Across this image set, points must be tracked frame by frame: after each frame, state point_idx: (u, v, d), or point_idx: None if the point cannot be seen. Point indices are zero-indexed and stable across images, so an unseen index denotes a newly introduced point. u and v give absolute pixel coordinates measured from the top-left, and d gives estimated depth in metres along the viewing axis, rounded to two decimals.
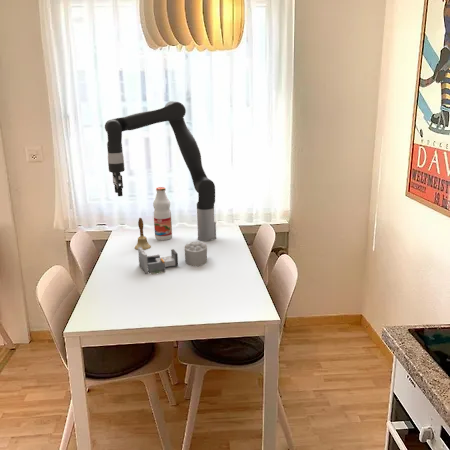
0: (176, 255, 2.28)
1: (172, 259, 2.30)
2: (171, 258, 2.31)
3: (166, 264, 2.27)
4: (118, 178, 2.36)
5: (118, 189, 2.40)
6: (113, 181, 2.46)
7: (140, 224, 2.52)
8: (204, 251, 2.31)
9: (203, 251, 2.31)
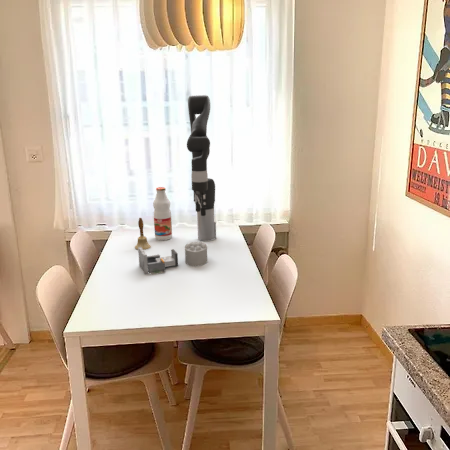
0: (176, 255, 2.28)
1: (172, 259, 2.30)
2: (171, 258, 2.31)
3: (166, 264, 2.27)
4: (203, 197, 2.27)
5: (202, 208, 2.30)
6: (195, 200, 2.36)
7: (140, 224, 2.52)
8: (204, 251, 2.31)
9: (203, 251, 2.31)
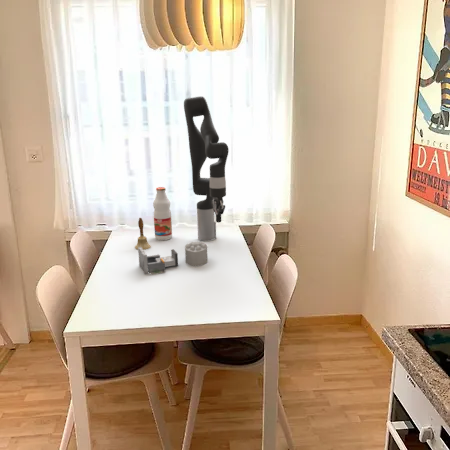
0: (176, 255, 2.28)
1: (172, 259, 2.30)
2: (171, 258, 2.31)
3: (166, 264, 2.27)
4: (221, 208, 2.27)
5: (217, 215, 2.33)
6: (214, 207, 2.33)
7: (140, 224, 2.52)
8: (204, 251, 2.31)
9: (203, 251, 2.31)
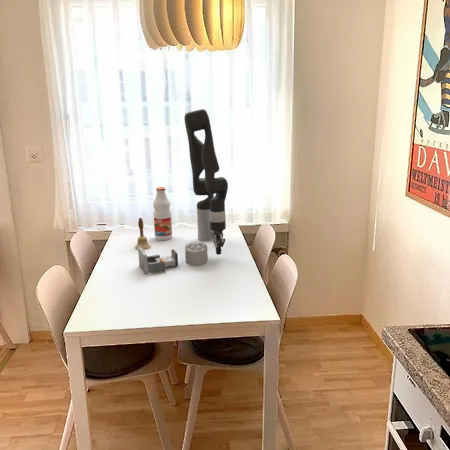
0: (176, 255, 2.28)
1: (172, 259, 2.30)
2: (171, 258, 2.31)
3: (166, 264, 2.27)
4: (221, 242, 2.32)
5: (217, 248, 2.37)
6: (214, 240, 2.37)
7: (140, 224, 2.52)
8: (205, 251, 2.32)
9: (204, 251, 2.31)
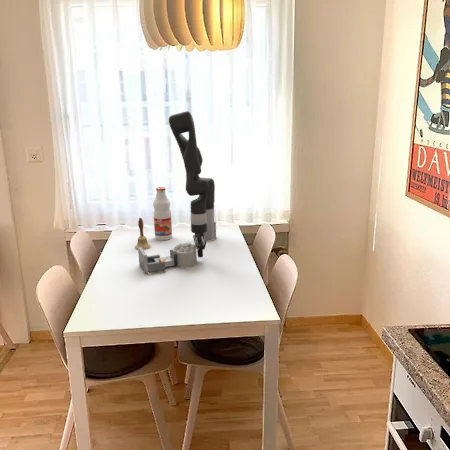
0: (175, 255, 2.28)
1: (171, 259, 2.29)
2: (170, 258, 2.30)
3: (165, 264, 2.27)
4: (202, 244, 2.29)
5: (199, 250, 2.34)
6: (196, 243, 2.34)
7: (140, 224, 2.52)
8: (194, 252, 2.30)
9: (193, 252, 2.29)
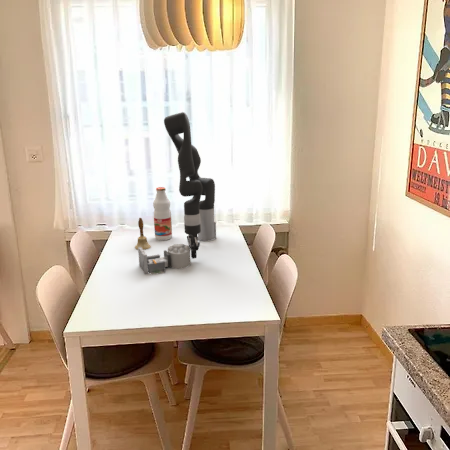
0: (168, 256, 2.27)
1: (164, 260, 2.28)
2: (164, 259, 2.29)
3: None
4: (195, 245, 2.28)
5: (192, 251, 2.33)
6: (189, 244, 2.33)
7: (140, 224, 2.52)
8: (188, 253, 2.29)
9: (187, 253, 2.28)
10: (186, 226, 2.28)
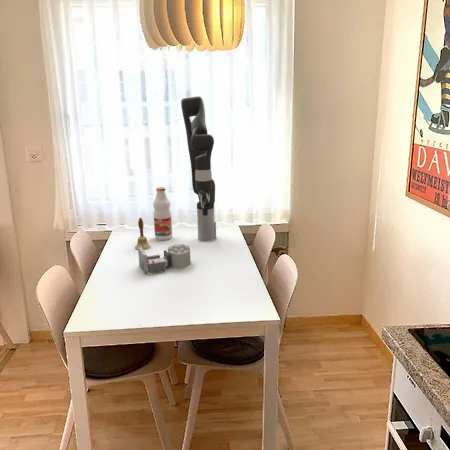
0: (168, 256, 2.27)
1: (164, 260, 2.28)
2: (163, 259, 2.29)
3: None
4: (207, 201, 2.24)
5: (204, 208, 2.29)
6: (200, 200, 2.29)
7: (140, 224, 2.52)
8: (188, 253, 2.29)
9: (187, 253, 2.29)
10: (197, 182, 2.24)
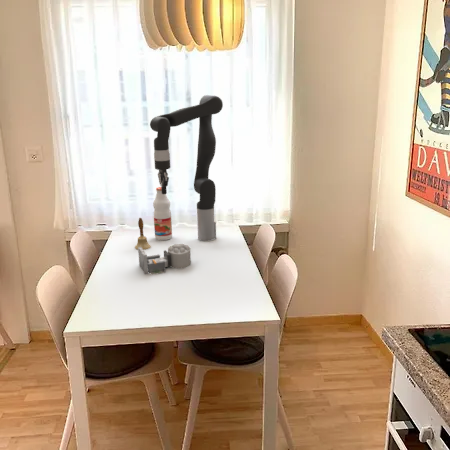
0: (168, 256, 2.27)
1: (164, 260, 2.28)
2: (163, 259, 2.29)
3: None
4: (165, 180, 2.38)
5: (162, 187, 2.43)
6: (159, 180, 2.43)
7: (140, 224, 2.52)
8: (188, 253, 2.30)
9: (188, 253, 2.29)
10: (156, 161, 2.38)
